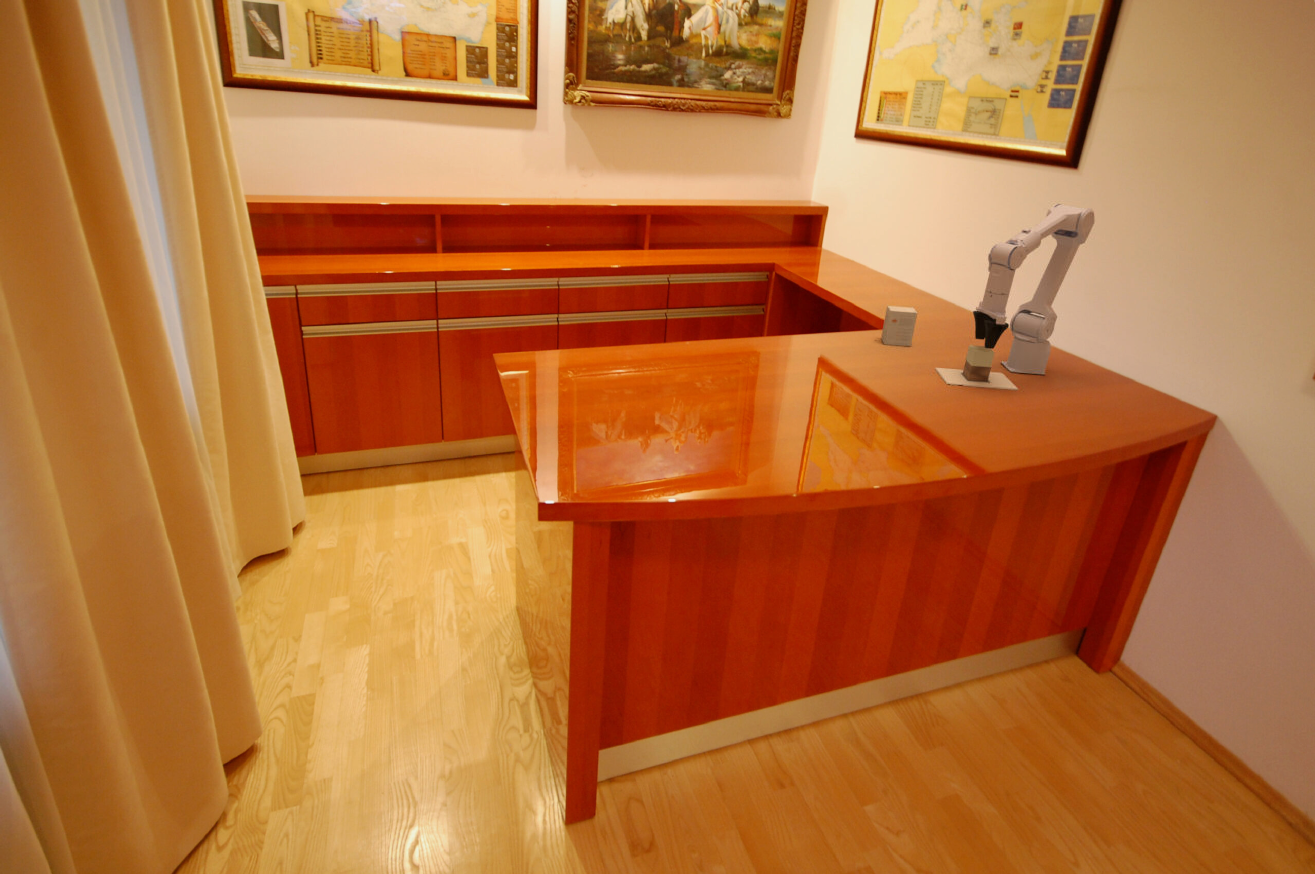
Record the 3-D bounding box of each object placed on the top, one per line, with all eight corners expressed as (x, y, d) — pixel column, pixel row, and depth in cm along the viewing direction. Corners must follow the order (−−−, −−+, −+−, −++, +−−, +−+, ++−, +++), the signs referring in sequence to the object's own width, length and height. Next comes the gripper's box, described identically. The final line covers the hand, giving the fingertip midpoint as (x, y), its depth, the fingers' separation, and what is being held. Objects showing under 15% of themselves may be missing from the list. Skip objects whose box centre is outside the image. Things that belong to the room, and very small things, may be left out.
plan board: (1001, 374, 203) (1002, 372, 203) (1017, 390, 192) (1018, 388, 192) (934, 369, 204) (935, 367, 203) (947, 384, 193) (947, 382, 193)
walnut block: (981, 375, 200) (985, 360, 198) (987, 381, 195) (991, 367, 194) (962, 373, 200) (966, 359, 198) (968, 380, 196) (971, 365, 194)
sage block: (984, 361, 198) (988, 346, 196) (990, 367, 194) (994, 352, 192) (965, 359, 198) (969, 345, 197) (971, 365, 194) (974, 351, 192)
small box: (907, 341, 226) (914, 307, 222) (910, 347, 221) (918, 312, 217) (880, 339, 227) (886, 305, 222) (883, 344, 222) (890, 310, 217)
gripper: (972, 284, 195) (960, 334, 200) (990, 298, 181) (977, 351, 187) (999, 286, 194) (987, 336, 200) (1020, 300, 181) (1005, 353, 187)
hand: (984, 343), depth 194 cm, fingers open, 7 cm apart
